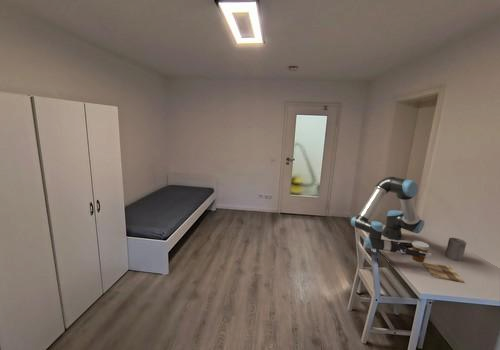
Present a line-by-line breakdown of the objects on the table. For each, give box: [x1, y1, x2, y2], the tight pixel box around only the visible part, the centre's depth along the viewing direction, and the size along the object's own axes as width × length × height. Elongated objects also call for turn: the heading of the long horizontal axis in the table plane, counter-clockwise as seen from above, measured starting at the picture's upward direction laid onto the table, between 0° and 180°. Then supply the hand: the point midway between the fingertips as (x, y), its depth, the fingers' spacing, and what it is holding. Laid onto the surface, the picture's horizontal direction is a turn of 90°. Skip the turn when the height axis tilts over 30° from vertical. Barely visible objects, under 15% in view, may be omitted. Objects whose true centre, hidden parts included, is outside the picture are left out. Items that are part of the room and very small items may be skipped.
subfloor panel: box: [422, 261, 465, 284], centre depth 151 cm, size 17×16×1 cm
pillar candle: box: [444, 237, 467, 262], centre depth 168 cm, size 10×10×15 cm
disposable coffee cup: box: [411, 240, 430, 264], centre depth 154 cm, size 10×10×12 cm
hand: (427, 251), depth 152 cm, fingers closed on disposable coffee cup, 8 cm apart
